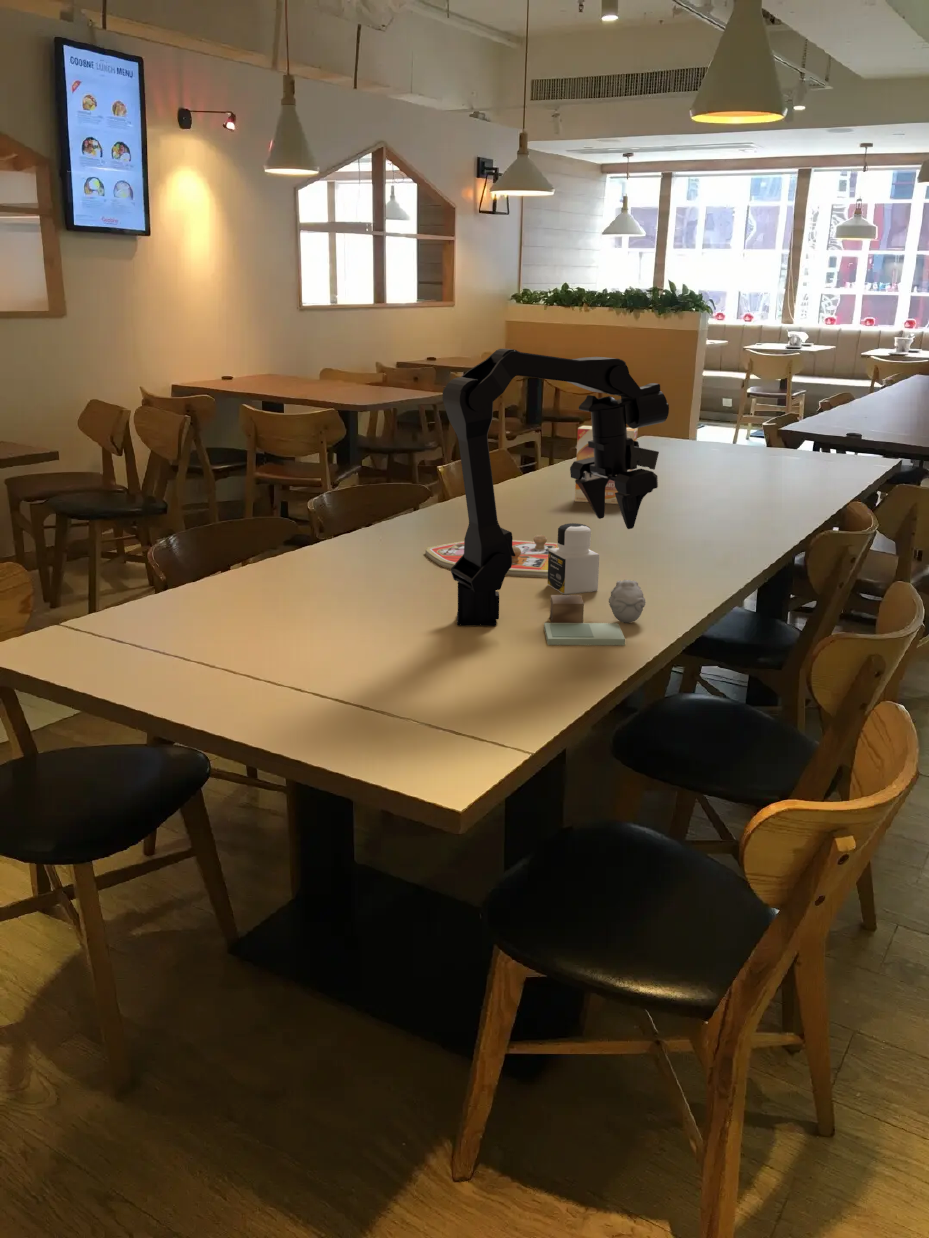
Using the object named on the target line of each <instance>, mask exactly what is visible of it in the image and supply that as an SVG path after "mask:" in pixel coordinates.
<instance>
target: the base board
mask: <svg viewBox="0 0 929 1238" xmlns="http://www.w3.org/2000/svg"><path fill="white" fill-rule="evenodd" d="M543 630H544V634H545V639H546V643H547V645H548V646H625V645H626V638H625V636H624V632H623V631H622V629H621V627H620V625H619V622H618V623H617V622H583V623H552V622H544V623H543Z"/></svg>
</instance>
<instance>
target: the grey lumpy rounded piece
mask: <svg viewBox="0 0 929 1238" xmlns="http://www.w3.org/2000/svg"><path fill="white" fill-rule="evenodd" d="M646 603H647V602H646V598H645V596H644V592H643V590H642V588H641V587H640V586H639V582H638V581H636V580H631V579H624V580H617V581H616V583H615V586H614V587H613V589H611V591H610V596H609V598H608V605H609V607H610V608H611V612H612V614H613V616H614V618H615V619H616V620H617V621H619V622H621V623H624V624H629V623H634V622H635V621H637V620H638V619H639V618H640V617H641V615H642V613H643V610H644V608H645V606H646Z"/></svg>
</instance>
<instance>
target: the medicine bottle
mask: <svg viewBox="0 0 929 1238" xmlns="http://www.w3.org/2000/svg"><path fill="white" fill-rule="evenodd" d="M591 539H592V528H591V527H590V526H588V525H586V524H583V523H577V522H576V523H573V522H572V523H564V524H562V525H560V526H558V528H557V543H558V545H557V546H558V547H559V548H551V549H549V551H548V578H547V586H548V587H551V588H552V589H553V590H556V591H557V592H559V593H560V594H561V595H576V594H583V593H585V594H586V593H591V592H592V593H593V592H598V590H599V573H600V571H599V570H600V554H599V553H597V552H595V551H593V550H592V549H590V548H591V542H592V541H591Z"/></svg>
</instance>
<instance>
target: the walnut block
mask: <svg viewBox="0 0 929 1238" xmlns="http://www.w3.org/2000/svg"><path fill="white" fill-rule="evenodd" d="M584 605H585V604H584V600H583V598H582V595H580V594H579V595H578V594H566V595H564V594H550V608H549V609H550V610H549V617H550V623H584V611H585V610H584Z"/></svg>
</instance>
